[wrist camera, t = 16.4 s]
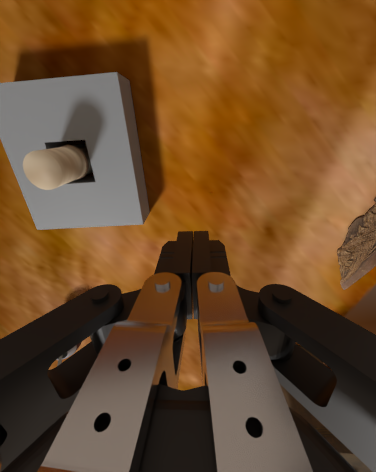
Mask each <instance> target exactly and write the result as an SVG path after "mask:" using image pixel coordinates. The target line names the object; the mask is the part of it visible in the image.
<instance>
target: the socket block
mask: <svg viewBox="0 0 376 472" xmlns="http://www.w3.org/2000/svg"><path fill="white" fill-rule="evenodd" d="M0 138H1V141H2V143H3V146H4V148H5V151H6V153H7V156H8V158H9V161H10V163H11V166H12V168H13V171H14V173H15V176H16V178H17V181H18V183H19V186H20V188H21V191H22V193H23V196H24V198H25V201H26V203H27V206H28V208H29V211H30V213H31V215H32V218H33V220H34V223H35V225H36V228H37V230H41V229H61V228H81V227H100V226H120V225H139V224H144V222H145V220H146V218H147V216H148V215H149V213H150V211H149V204H148V198H147V191H146V185H145V178H144V172H143V165H142V159H141V152H140V146H139V139H138V133H137V126H136V120H135V113H134V107H133V100H132V94H131V87H130V81H129V80H128V79H126V78H125V77H123V76H122V75H121V74H119V73H118V72H112V73H101V74H91V75H80V76H70V77H60V78H49V79H39V80H28V81H18V82H7V83H0ZM74 140H85V142H86V146H87V150H88V154H89V158H90V162H91V166H92V170H93V174H94V176H84V177H82V178H80V179H77V180H73V181H71V182H69V183H66V184H64V185H62V186H60V187H57V188H55V189H52V190H44V189H40V188H38V187H36V186H35V185H34V184H32V183H31V182H30V181H29V180H28V178H27V177H26V175H25V173H24V169H23V160H24V158H25V156H26V155H27V154H28V153H29V152H32V151H37V150H44V149H51V148H58V147H61V146H65V145H67V143H66V141H74Z"/></svg>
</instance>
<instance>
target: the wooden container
mask: <svg viewBox="0 0 376 472" xmlns="http://www.w3.org/2000/svg"><path fill="white" fill-rule="evenodd" d="M299 347H301V346H299ZM301 348H302V349H303V350H305V351H306V352H307V353H309V354H310V355H311V356H313V357H314V358H315V359H317V360H318V361H319V362H321V363H322V364H323V362H322V361H321V360H320V359H318V358H317V357H316V356H314V355H313V354H312V353H310V352H309V351H308V350H306V349H305V348H303V347H301ZM323 365H324V364H323ZM280 386H281V389H282V391H283V394H284V397H285V399H286V402H287V405H288V407H290V408H291V409H293V410H294V411H295V412H297V413H298V414H300V415H301V416H302V417H303V418H304V419H305V420H307V421H308V422H309V423H310V424H311V425H312V426H313V427H314V428H315V429H316V430H317V431H318V432H319V433H320V434H321V435H322V436H323V437H324V438H325V439H326V440H327V441H328V442H329V443H330V444H331V445H332V446H333V447H334V448H335V449H336V450H337V451H338V452H339V453H340V454H341V455H342V456H343V457H344V458H345V459H346V460H347V462H348V463H349V464H350V465H351V466H352V467H353V468H354V469H355V470H356V471H357V472H372V471H371V470H370V469H369V468H368V467H367V466H366V465H365V464H364V463H363V462H362V461H361V460H360V459H359V458H358V457H357V456H356V455H354V454H353V453H352V452H351V451H350V450H349V449H348V448H347V447H346V446H345V445H344V444H343V443H342V442H341V441H340V440H339V439H338V438H336V437H335V436H334V435H333V434H332V433H331V432H330V431H329V430H328V429H327V428H326V427H325V426H324V425H323V424H322V423H321V422H320V421H319V420H317V419H316V418H315V417H314V416H313V415H312V414H311V413H310V412H309V411H308V410H307V409H306V408H305V407H304V406H303V405H302V404H301V403H299V402H298V401H297V400H296V399H295V398H294V397H293V396H292V395H291V394H290V393H289V392H288V391H287V390H286V389H285V388H284V387H283V386H282V385H280Z"/></svg>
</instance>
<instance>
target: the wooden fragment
mask: <svg viewBox="0 0 376 472" xmlns="http://www.w3.org/2000/svg"><path fill="white" fill-rule="evenodd" d="M374 201H375V202H376V198H375V199H374ZM348 229H349V232H348V234H347V237H346V240H345V242H344V243H343V245H342V247H341V248H339V249H338V259H339V260H338V262H339V265H340V272H341V277H342V280H341V283H340V284H341V286H342V288H343V289H344V290H345V289H347V288H348V287H349V286H351V285H352V284H353V283H355V282H356V281H357V280H359V279H360V278H361V277H362V276H364V275H365V274H366V273H367V272H369V271H370V270H371V269H372V268H374V267H375V266H376V204H375V205H373V207H372V208H370V209H369V211H368V212H367V213H366V214H365V215H363V216H361V217H359V218H357V219H356V220H355V221H354V222H353V223H352V224H351V226H350V227H349V228H348Z"/></svg>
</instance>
